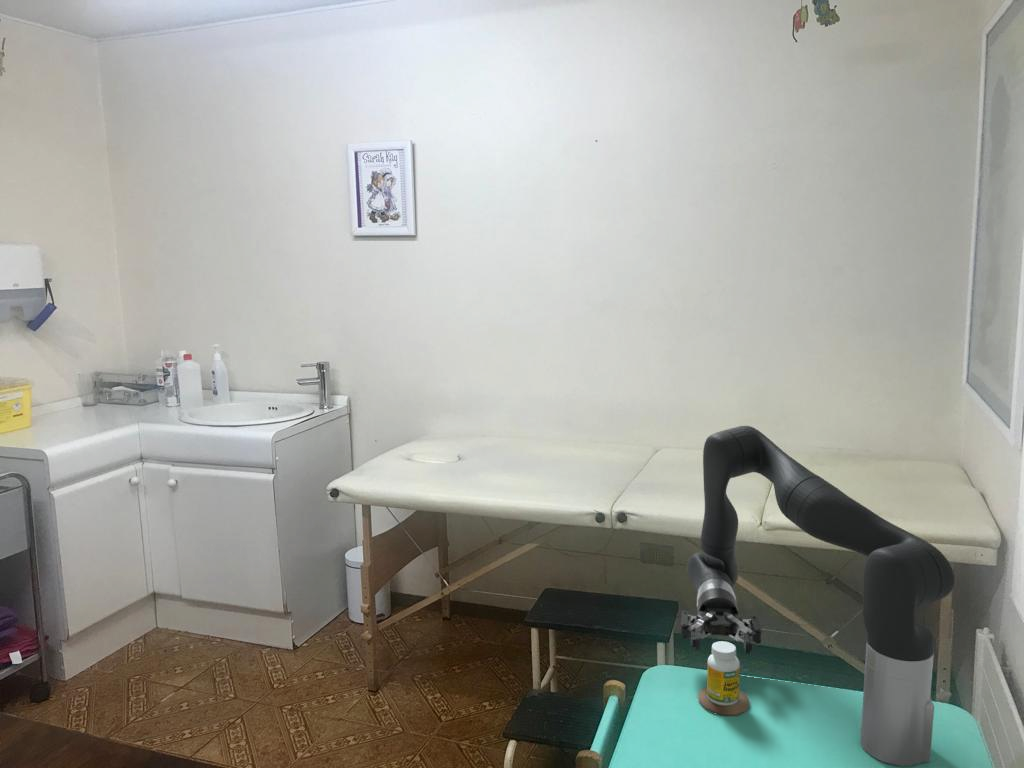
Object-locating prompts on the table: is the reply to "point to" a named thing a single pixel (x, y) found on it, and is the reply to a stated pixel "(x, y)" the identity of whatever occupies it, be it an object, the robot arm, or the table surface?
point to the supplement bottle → (723, 674)
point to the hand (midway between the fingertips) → (722, 647)
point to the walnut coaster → (729, 710)
